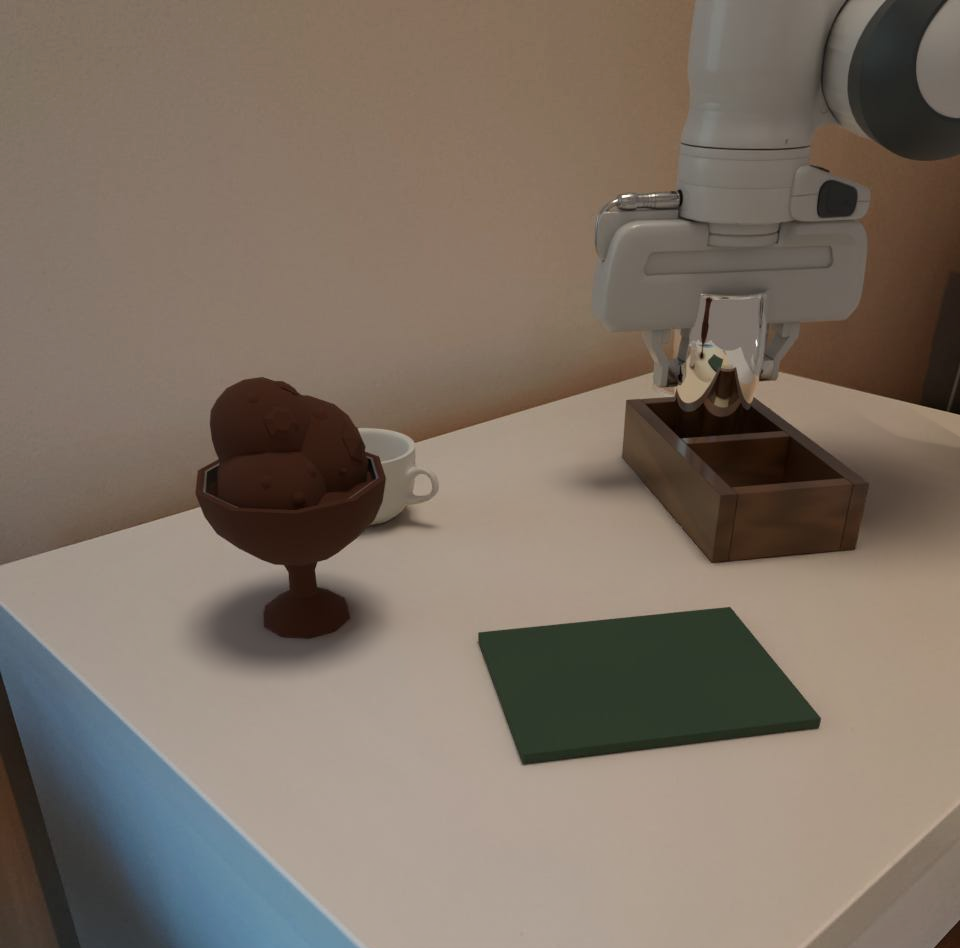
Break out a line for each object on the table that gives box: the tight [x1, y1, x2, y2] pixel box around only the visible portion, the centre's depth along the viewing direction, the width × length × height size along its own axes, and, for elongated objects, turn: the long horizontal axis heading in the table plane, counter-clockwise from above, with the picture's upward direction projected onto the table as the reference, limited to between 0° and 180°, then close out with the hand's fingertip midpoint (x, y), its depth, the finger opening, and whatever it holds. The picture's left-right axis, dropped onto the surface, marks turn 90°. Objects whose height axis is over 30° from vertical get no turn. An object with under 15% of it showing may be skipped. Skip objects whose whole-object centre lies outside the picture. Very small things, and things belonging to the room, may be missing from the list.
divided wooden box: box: [621, 396, 870, 563], centre depth 76 cm, size 11×20×5 cm, turn 11°
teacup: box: [357, 427, 440, 526], centre depth 74 cm, size 10×8×5 cm
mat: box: [477, 606, 822, 764], centre depth 56 cm, size 16×12×1 cm
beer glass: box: [672, 289, 771, 439], centre depth 78 cm, size 7×7×15 cm
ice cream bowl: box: [194, 376, 386, 639], centre depth 59 cm, size 11×11×15 cm
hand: (715, 382), depth 78 cm, fingers closed on beer glass, 7 cm apart
